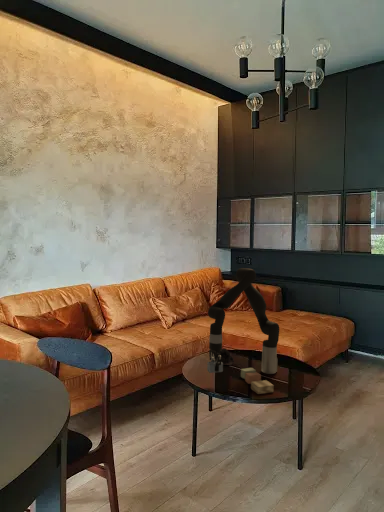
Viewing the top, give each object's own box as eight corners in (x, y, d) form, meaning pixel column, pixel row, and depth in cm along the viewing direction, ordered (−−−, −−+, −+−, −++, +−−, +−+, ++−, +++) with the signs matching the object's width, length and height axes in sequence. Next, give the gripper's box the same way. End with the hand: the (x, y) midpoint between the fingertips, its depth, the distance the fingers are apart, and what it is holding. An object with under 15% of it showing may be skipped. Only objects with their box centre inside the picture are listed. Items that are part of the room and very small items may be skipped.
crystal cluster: (226, 368, 261) (229, 353, 261) (210, 362, 269) (212, 348, 269) (236, 365, 272) (239, 351, 272) (220, 359, 280) (222, 345, 280)
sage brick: (251, 375, 248) (251, 367, 248) (255, 377, 244) (255, 370, 244) (240, 376, 245) (240, 369, 245) (244, 379, 241) (244, 371, 240)
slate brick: (219, 369, 231) (220, 360, 231) (222, 371, 227) (223, 363, 227) (207, 370, 229) (207, 361, 229) (210, 372, 225) (210, 364, 224)
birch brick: (265, 386, 229) (266, 380, 229) (273, 392, 222) (273, 385, 222) (250, 388, 226) (251, 381, 226) (257, 394, 218) (258, 387, 218)
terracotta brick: (257, 380, 240) (257, 372, 240) (260, 383, 235) (260, 374, 235) (245, 381, 238) (245, 373, 237) (248, 384, 233) (248, 375, 233)
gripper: (226, 344, 222) (226, 373, 223) (216, 337, 235) (215, 365, 236) (214, 345, 219) (214, 374, 220) (205, 338, 232) (204, 366, 233)
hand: (215, 369), depth 228 cm, fingers closed on slate brick, 4 cm apart
